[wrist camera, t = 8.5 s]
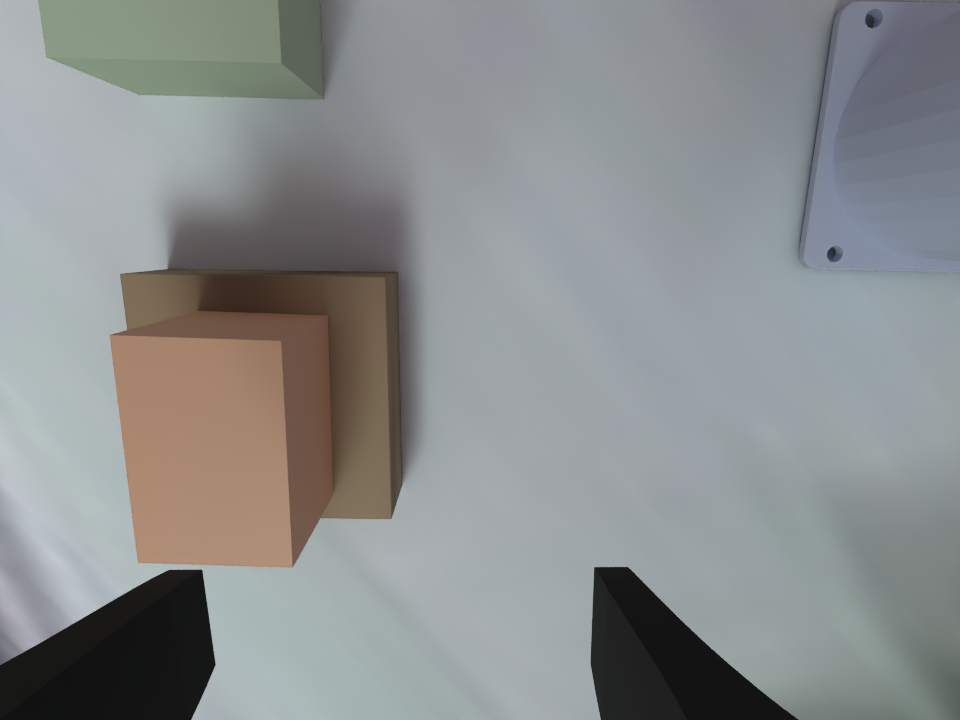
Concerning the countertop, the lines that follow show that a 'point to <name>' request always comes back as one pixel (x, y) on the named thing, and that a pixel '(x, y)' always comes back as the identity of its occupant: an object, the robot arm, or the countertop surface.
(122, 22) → the sage brick
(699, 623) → the countertop surface
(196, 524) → the terracotta brick
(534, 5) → the countertop surface
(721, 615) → the countertop surface
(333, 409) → the walnut slab
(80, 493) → the countertop surface
